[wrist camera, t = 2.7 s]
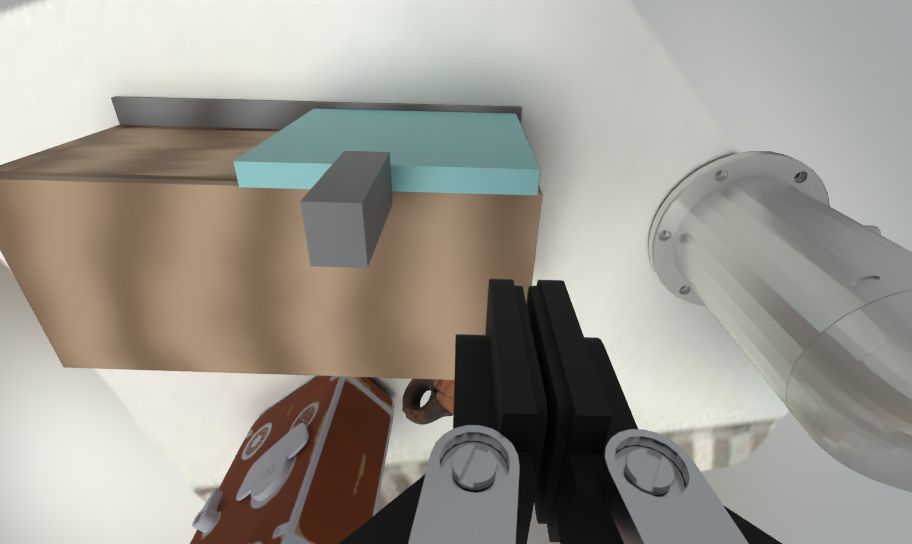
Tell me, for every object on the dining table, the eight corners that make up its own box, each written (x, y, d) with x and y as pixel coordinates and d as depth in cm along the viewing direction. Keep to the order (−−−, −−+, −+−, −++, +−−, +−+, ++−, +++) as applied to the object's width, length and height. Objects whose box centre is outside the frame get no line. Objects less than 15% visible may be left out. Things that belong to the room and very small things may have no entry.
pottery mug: (478, 280, 39) (529, 354, 34) (513, 323, 46) (559, 390, 41) (366, 361, 40) (399, 446, 35) (418, 391, 47) (451, 465, 42)
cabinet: (521, 106, 31) (546, 156, 21) (506, 279, 38) (519, 382, 28) (114, 96, 32) (-59, 140, 21) (172, 270, 39) (63, 367, 28)
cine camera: (214, 431, 48) (73, 666, 31) (341, 342, 42) (251, 577, 25) (281, 475, 52) (187, 710, 35) (408, 400, 45) (371, 641, 28)
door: (516, 104, 30) (567, 208, 15) (513, 140, 32) (557, 273, 16) (312, 99, 31) (146, 197, 15) (317, 135, 32) (168, 262, 16)
